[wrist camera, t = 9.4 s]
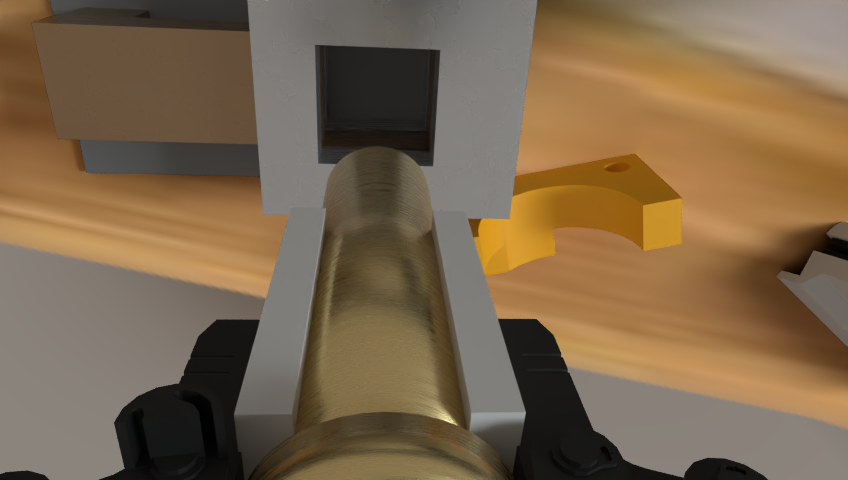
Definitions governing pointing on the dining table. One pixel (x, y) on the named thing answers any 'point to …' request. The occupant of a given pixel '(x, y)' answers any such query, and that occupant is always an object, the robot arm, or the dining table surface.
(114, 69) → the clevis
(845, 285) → the grey rounded block
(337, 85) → the mat
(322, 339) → the brass pin
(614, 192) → the pipe clamp
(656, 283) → the dining table surface
